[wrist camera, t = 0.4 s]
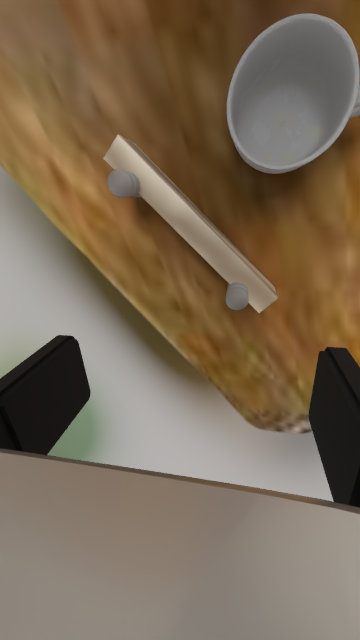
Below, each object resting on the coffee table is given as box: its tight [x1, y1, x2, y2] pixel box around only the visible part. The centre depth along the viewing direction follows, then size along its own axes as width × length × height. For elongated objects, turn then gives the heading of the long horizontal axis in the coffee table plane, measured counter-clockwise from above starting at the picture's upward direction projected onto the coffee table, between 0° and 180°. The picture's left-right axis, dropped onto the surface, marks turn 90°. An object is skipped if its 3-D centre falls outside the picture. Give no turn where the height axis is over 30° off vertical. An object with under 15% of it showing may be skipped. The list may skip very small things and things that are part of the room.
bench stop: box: [103, 135, 278, 313], centre depth 33 cm, size 4×26×8 cm, turn 48°
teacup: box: [227, 13, 360, 174], centre depth 26 cm, size 14×11×8 cm
